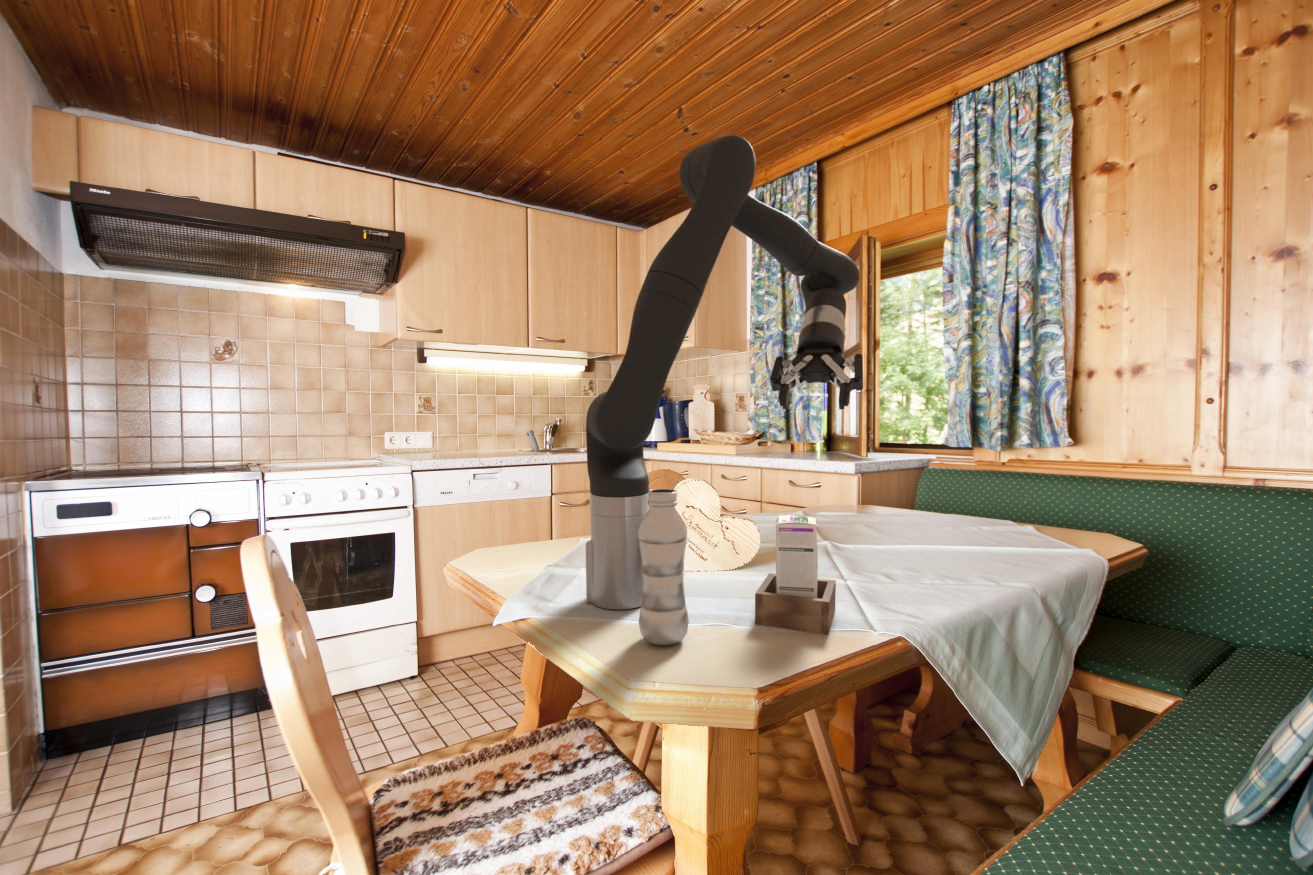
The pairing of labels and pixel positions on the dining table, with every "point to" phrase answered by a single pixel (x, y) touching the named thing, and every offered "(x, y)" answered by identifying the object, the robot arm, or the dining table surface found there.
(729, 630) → the dining table surface
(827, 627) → the walnut sleeve
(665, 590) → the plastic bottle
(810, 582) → the syrup box
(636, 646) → the dining table surface
